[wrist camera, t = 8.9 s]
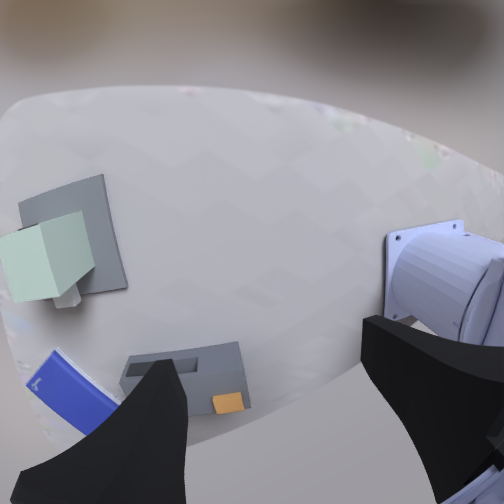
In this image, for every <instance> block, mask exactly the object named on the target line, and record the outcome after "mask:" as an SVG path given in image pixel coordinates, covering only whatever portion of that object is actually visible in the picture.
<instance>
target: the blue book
mask: <svg viewBox="0 0 504 504" xmlns="http://www.w3.org/2000/svg"><path fill="white" fill-rule="evenodd" d="M26 386H27V387H28V388H29V389H30V390H31V391H32V392H33V393H34V394H35V395H36V396H37V397H38V398H40V399H41V400H42V401H43V402H44V403H45V404H46V405H48V406H49V407H50V408H51V409H52V410H53V411H55V412H56V413H57V414H58V415H60V416H61V417H62V418H63V419H65V420H66V421H67V422H69V423H70V424H71V425H72V426H74V427H75V428H76V429H78V430H79V431H81V432H82V433H83V434H85V435H86V436H87V435H89V434H90V433H91V432H93V431H94V430H95V429H96V428H97V427H98V426H99V425H101V424H102V423H103V422H104V421H105V420H106V419H107V418H108V417H109V416H110V415H111V414H112V413H113V412H114V411H115V410H116V409H117V408H118V406H119V405H120V404H121V402H120V401H119V400H117V399H116V398H115V397H113V396H112V395H111V394H110V393H108V392H107V391H106V390H105V389H103V388H102V387H101V386H100V385H99V384H97V383H96V382H95V381H94V380H93V379H91V378H90V377H89V376H88V375H87V374H86V373H85V372H83V371H82V370H81V369H80V368H79V367H78V366H77V365H76V364H75V363H74V362H72V361H71V360H70V359H69V358H68V357H67V356H66V355H65V354H64V353H63V352H62V351H61V350H60V349H59V348H58V347H56V348H55V349H54V350H53V351H52V352H51V354H50V355H49V356H48V357H47V358H46V359H45V361H44V362H43V363H42V364H41V365H40V367H39V368H38V369H37V370H36V372H35V373H34V374H33V375H32V376H31V378H30V379H29V380H28V382H27V383H26Z"/></svg>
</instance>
